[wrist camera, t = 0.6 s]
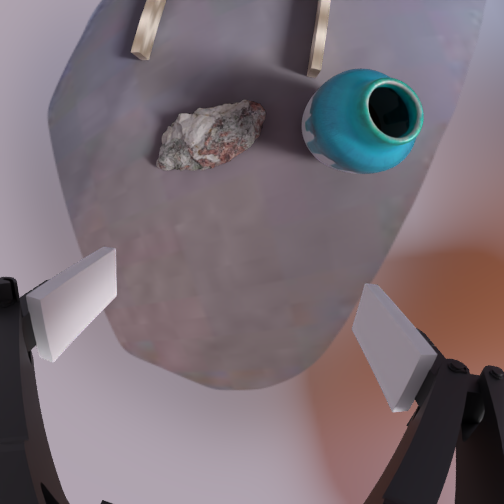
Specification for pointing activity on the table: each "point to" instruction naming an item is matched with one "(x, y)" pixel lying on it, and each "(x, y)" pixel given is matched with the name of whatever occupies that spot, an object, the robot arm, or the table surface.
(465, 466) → the robot arm
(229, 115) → the mineral rock
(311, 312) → the table surface
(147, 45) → the u-shaped wooden frame
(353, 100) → the vase
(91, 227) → the table surface
